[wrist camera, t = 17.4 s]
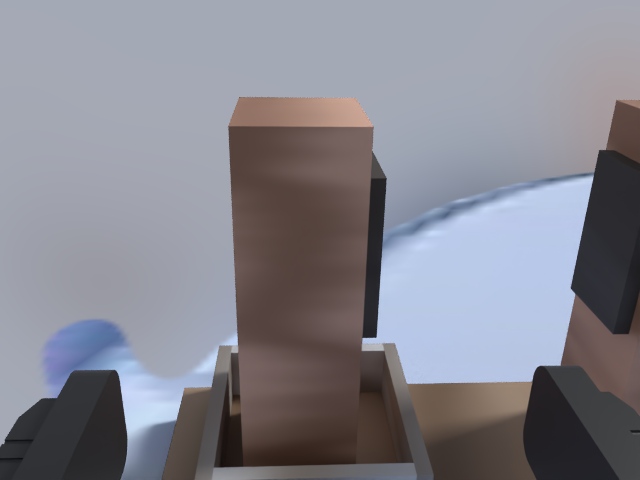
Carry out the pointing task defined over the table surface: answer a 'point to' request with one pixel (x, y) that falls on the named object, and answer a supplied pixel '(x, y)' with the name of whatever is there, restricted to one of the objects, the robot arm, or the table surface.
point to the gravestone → (458, 398)
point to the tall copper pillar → (303, 273)
